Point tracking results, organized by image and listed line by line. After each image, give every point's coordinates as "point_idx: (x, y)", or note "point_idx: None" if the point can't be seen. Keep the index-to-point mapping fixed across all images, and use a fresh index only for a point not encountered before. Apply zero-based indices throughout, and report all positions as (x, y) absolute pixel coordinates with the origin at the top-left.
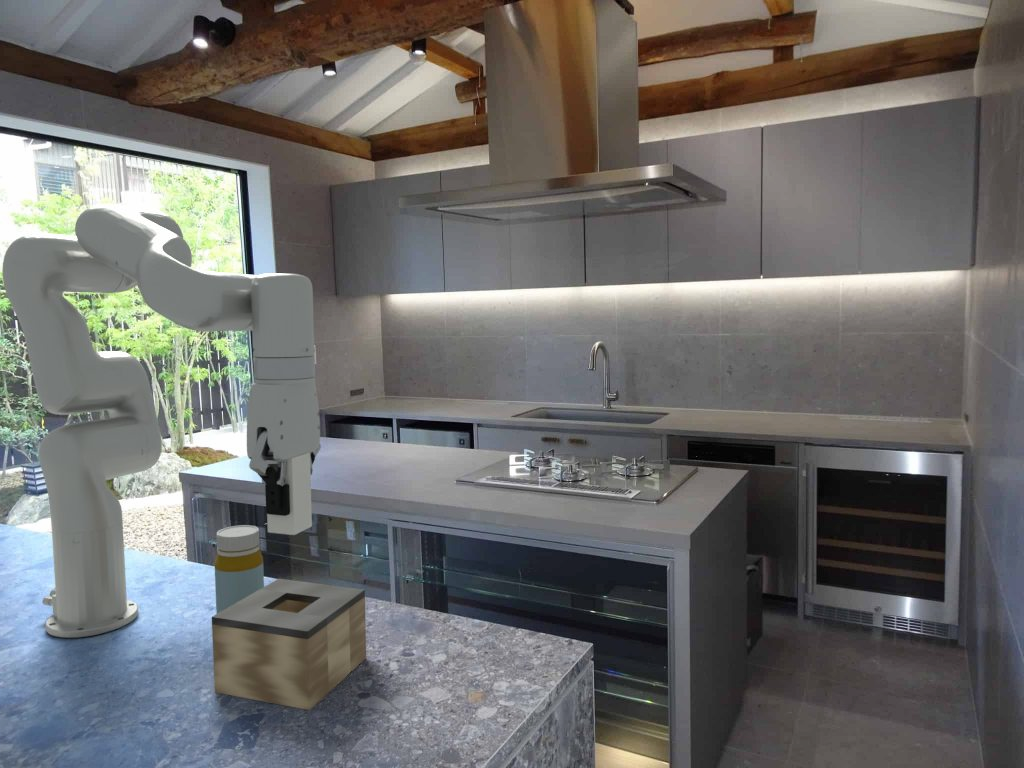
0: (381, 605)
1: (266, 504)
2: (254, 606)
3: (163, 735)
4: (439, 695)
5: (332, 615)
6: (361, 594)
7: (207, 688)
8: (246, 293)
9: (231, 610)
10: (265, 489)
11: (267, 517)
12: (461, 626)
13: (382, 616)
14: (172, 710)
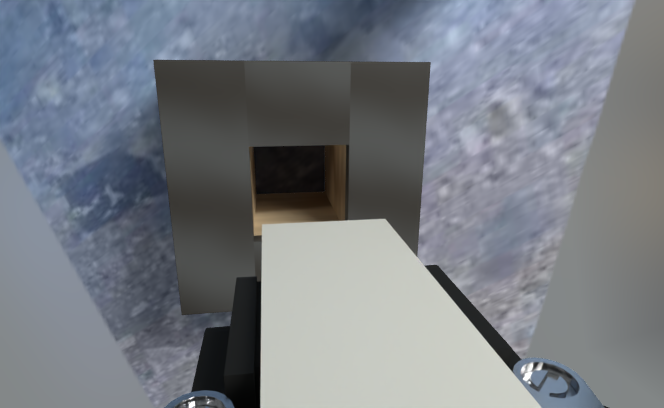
0: (574, 154)
1: (235, 298)
2: (249, 123)
3: (41, 76)
4: None
5: None
6: None
7: (194, 39)
8: None
9: (206, 83)
10: (227, 348)
11: (262, 249)
12: (512, 318)
13: (529, 181)
14: (107, 30)
